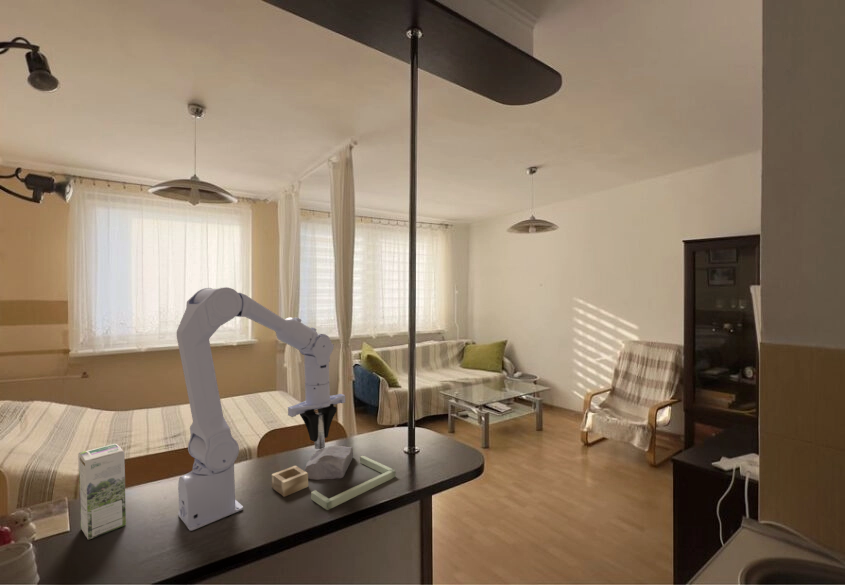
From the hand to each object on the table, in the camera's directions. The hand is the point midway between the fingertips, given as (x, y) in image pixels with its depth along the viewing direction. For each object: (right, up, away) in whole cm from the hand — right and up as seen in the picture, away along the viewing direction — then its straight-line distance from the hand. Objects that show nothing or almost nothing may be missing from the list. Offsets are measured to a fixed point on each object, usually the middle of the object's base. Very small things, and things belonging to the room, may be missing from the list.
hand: (319, 438), depth 96 cm
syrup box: (-34, -9, -22) cm, 42 cm away
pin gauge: (0, -2, 0) cm, 2 cm away
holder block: (-4, -7, -9) cm, 12 cm away
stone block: (+2, -8, 0) cm, 8 cm away
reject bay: (+8, -7, -8) cm, 13 cm away
